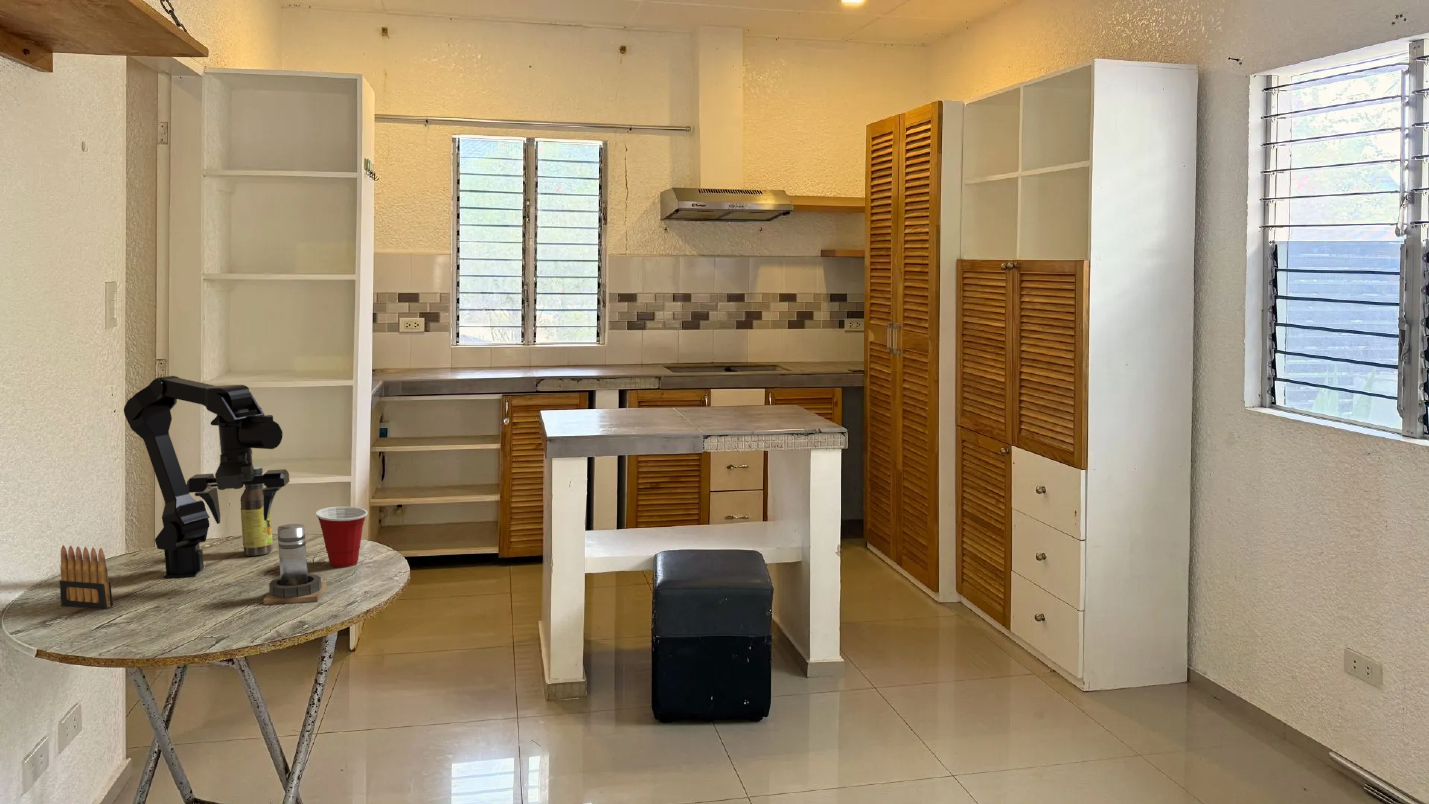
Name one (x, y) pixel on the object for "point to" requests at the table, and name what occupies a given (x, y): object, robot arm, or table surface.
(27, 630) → the table surface
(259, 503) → the sauce bottle
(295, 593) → the collar
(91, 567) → the ammunition clip
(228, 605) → the table surface
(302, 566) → the cylinder
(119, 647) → the table surface
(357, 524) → the plastic cup
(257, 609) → the table surface
